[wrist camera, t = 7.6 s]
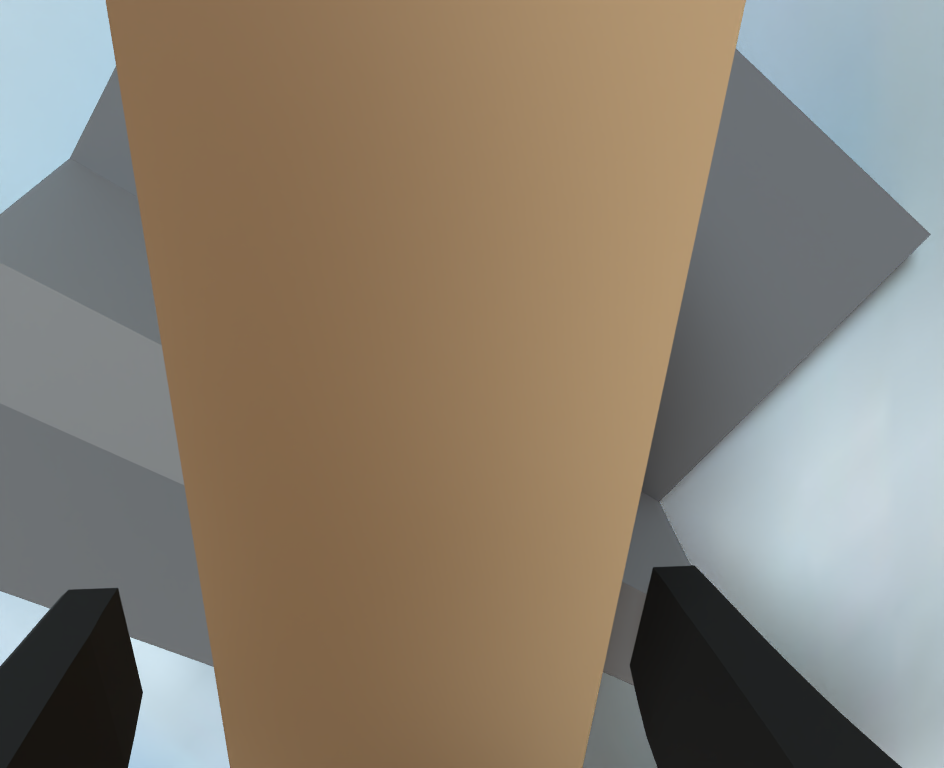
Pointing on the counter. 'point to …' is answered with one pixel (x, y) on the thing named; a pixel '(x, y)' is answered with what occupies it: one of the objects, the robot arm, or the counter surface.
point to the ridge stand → (147, 393)
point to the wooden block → (416, 346)
